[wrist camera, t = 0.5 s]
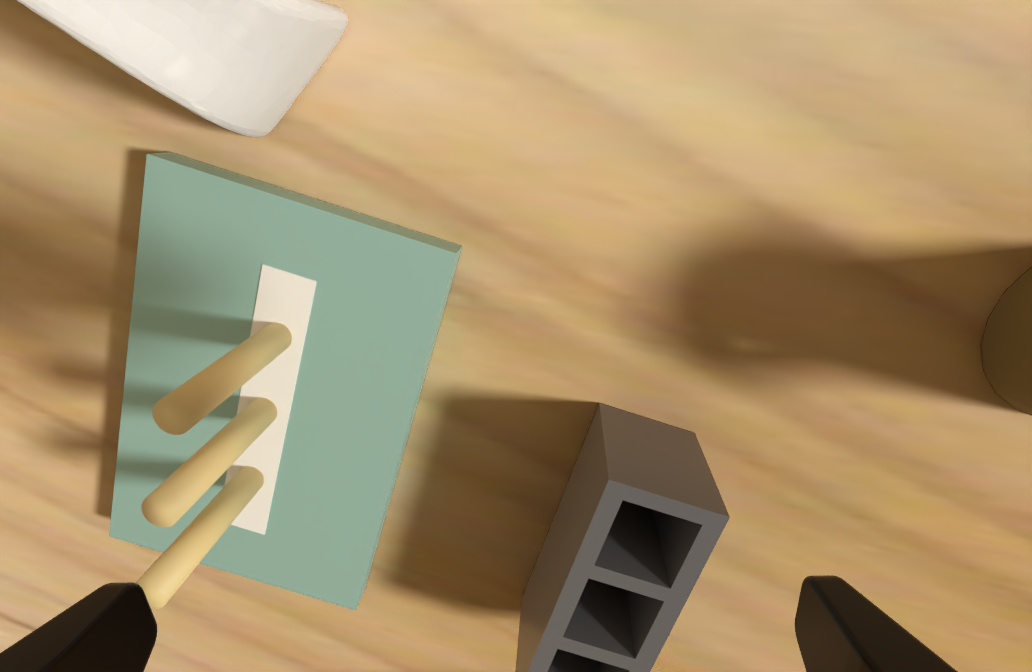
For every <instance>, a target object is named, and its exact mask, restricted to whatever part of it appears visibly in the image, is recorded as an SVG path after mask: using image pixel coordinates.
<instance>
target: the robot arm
mask: <svg viewBox="0 0 1032 672" xmlns="http://www.w3.org/2000/svg"><path fill="white" fill-rule="evenodd" d="M795 632H796V637H797V641H798V645H799V648H800V651H801V655H802V658H803V661H804V665H805V668H806V672H957V671H956V670H955V669H954V668H952V667H951V666H950V665H949V664H947V663H946V662H945V661H944V660H943V659H941V658H940V657H939V656H938V655H936V654H935V653H934V652H933V651H931V650H930V649H929V648H928V647H926V646H925V645H924V644H923V643H921V642H920V641H919V640H918V639H916V638H915V637H914V636H913V635H911V634H910V633H909V632H908V631H906V630H905V629H904V628H903V627H902V626H900V625H899V624H898V623H897V622H895V621H894V620H893V619H892V618H890V617H889V616H888V615H887V614H885V613H884V612H883V611H882V610H880V609H879V608H878V607H877V606H875V605H874V604H873V603H872V602H870V601H869V600H868V599H867V598H866V597H864V596H863V595H862V594H861V593H859V592H858V591H857V590H856V589H854V588H853V587H852V586H851V585H849V584H848V583H847V582H846V581H844V580H843V579H841V578H839V577H837V576H808V577H806V578H805V579H804V581H803V583H802V587H801V592H800V597H799V602H798V607H797V612H796V617H795ZM156 637H157V624H156V620H155V618H154V615H153V613H152V610H151V608H150V605H149V603H148V600H147V598H146V595H145V593H144V590H143V588H142V587H141V586H140V585H139V584H137V583H109V584H105V585H103V586H102V587H100V588H98V589H97V590H95V591H94V592H92V593H91V594H89V595H88V596H86V597H85V598H83V599H82V600H80V601H79V602H77V603H76V604H74V605H73V606H71V607H69V608H68V609H66V610H65V611H63V612H62V613H60V614H59V615H57V616H56V617H54V618H53V619H51V620H50V621H48V622H47V623H45V624H44V625H42V626H41V627H39V628H38V629H36V630H35V631H33V632H32V633H30V634H29V635H27V636H26V637H24V638H23V639H21V640H20V641H18V642H17V643H15V644H14V645H12V646H11V647H9V648H7V649H6V650H4V651H3V652H1V653H0V672H144V669H145V667H146V664H147V662H148V659H149V657H150V654H151V652H152V649H153V647H154V644H155V641H156Z"/></svg>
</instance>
